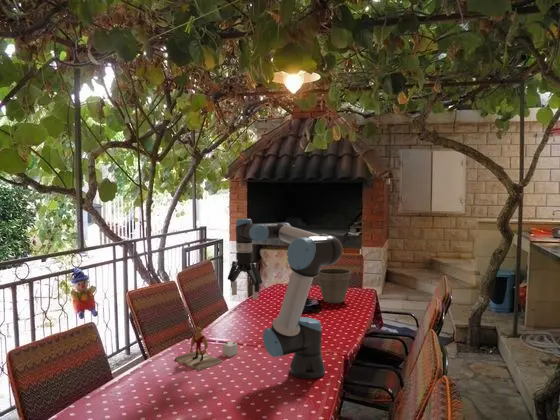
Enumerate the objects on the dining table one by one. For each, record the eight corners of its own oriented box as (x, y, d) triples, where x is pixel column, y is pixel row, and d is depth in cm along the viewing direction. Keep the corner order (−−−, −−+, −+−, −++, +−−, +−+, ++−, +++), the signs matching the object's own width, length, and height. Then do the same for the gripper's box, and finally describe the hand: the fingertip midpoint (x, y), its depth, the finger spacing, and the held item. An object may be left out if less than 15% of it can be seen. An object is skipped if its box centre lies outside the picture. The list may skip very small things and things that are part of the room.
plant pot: (311, 298, 325) (311, 268, 324) (341, 295, 332) (342, 267, 331) (324, 306, 301) (324, 274, 300) (357, 304, 308) (357, 273, 307)
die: (237, 354, 212) (237, 342, 212) (229, 356, 209) (229, 345, 208) (230, 351, 216) (230, 340, 216) (222, 354, 212) (222, 342, 212)
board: (221, 362, 202) (221, 359, 202) (198, 371, 192) (198, 368, 192) (197, 352, 214) (197, 350, 214) (174, 360, 204) (174, 357, 204)
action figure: (187, 358, 204) (187, 326, 203) (192, 355, 207) (192, 324, 206) (204, 362, 199) (204, 329, 198) (209, 359, 202) (209, 327, 202)
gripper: (219, 250, 213) (220, 294, 213) (258, 254, 197) (259, 302, 197) (231, 249, 218) (231, 292, 219) (269, 252, 203) (270, 299, 203)
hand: (244, 297), depth 208 cm, fingers open, 13 cm apart
